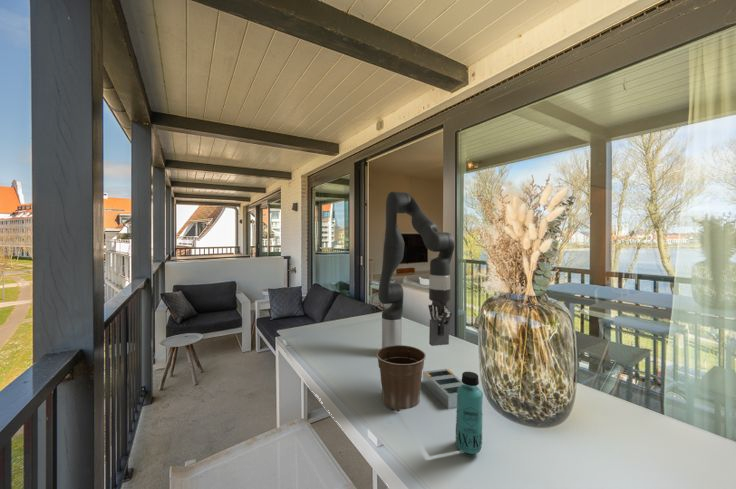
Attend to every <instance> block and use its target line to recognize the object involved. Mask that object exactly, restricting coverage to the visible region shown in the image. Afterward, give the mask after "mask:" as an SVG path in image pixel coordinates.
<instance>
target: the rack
mask: <svg viewBox="0 0 736 489" xmlns="http://www.w3.org/2000/svg"><path fill="white" fill-rule="evenodd" d="M422 383H423V384H424V385H425V386H426V388H428V390H429V391H430V392H431V393H432V394H433V395H434V396H435V397H436V398H437V399H438V400H439V401H440V402H441V403H442V404H443V405H444V406H445V407H446V408H447V409H448V410H450V409H457V389H458V387H459V386H461V385H463V384H464V383H462V379H460V378H459V377H458V376H456V375H455V374H454V372H452V371H451V370H450V369H447V368H443V369H435V370H426V371H422Z"/></svg>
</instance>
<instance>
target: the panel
mask: <svg viewBox="0 0 736 489" xmlns="http://www.w3.org/2000/svg"><path fill="white" fill-rule="evenodd" d="M440 321H441V320H440ZM445 322H446V321H445ZM428 339H429V342H428V343H429V345H430V346H432V347H433V346H435V347H437V346H445V345H447V346H448V345H449V344H450V342H449V341H450V322H449V323H448V325H444V335H443V336H438V319H431V318H429V338H428Z"/></svg>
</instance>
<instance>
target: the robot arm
mask: <svg viewBox="0 0 736 489" xmlns="http://www.w3.org/2000/svg"><path fill="white" fill-rule="evenodd" d="M398 214H407V215H409V216H410V217H411V225H412V227H413V230H415V232H417V233H418V235H420V236H421V238H422V241H423V243H424V247H425V248H426V249H427V250H429V251H431V252H432V253H433V252H434V253H437V252H438V256H437V257H434V258H432V259H430V262H429V281H428V283H429V284H428V291H429V292H428V298H429V299H428V300H430V301H431V304H428V306H427V307H428V311H429V315H430V319H438V336H443V335H444V325H448V323H449V324H450V321H451V317H452V314H453V313H452V311H449V310H448V307H449V306H448V302H450V301H451V262H452V258H453V254H454V252H455V247H456V240H455V237H454V235H453V234H452V233H451V232H446V231H445V232H444V231H441V232H440V231H438V230H439V228H438V226H437V224H436V223H435V222H434V221H433V220H431V219H430V217H428V216H427V215H426V213H424V211H423V210H422V209H421V206H419V204H418V203H417V201H416V200H415V198H414V197H413V195H411V194H410V193H408V192H405V191H404V192H403V191H402V192H401V191H391V192H389V193H388V194H387V197H386V201H385V230H384V231H385V232H384V241H383V251H382V252H383V253H382V255H383V256H382V266H381V275H380V279H379V286H378V294H377V295H378V300H379V302H380V304H384V305H390V306H389V307H388V308H386V309H384V310H383V311H382V312H381V349H382V348H384V347H388V346H395V345H402V339H403V338H402V336H403V335H402V332H403V331H402V327H403V326H402V322H403V321H402V318H403V317H402V314H403V310H404V309H403V308H404V294H405V293H404V288H403V285H402V284H401V283H398V282H395V283H394V282H393V283H391V280H392V277H393V274H394V272H395V271H396V270H397V269H398V267H399V266H400V264H401V263H402V261H403V259H404V254H405V241H404V237H403V235H402V233H401V231H400V229H399V227H398V218H397V216H398ZM440 320H441V321H440ZM445 321H446V322H445Z"/></svg>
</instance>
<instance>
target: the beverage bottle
mask: <svg viewBox="0 0 736 489" xmlns="http://www.w3.org/2000/svg"><path fill="white" fill-rule="evenodd" d="M479 380H480V379H479V375H478V374H477V373H476V372H473V371H464V372H462V374H461V381H462V383H464V384H463V385H461V386H459V387H458V389H457V408H456V411H455V412H456V417H455V422H456V423H455V444H456V447H457V448H458V449H459V450H460V451H461V452H464V453H466V454H471V455H474V454H478V453H480V451H481V450H482V447H483V429H484V428H483V427H484V425H483V415H484V414H483V399H484V398H483V397H484V393H483V391H482V390H481V389H480V388H479V387H478V385H479V384H480V381H479Z"/></svg>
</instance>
